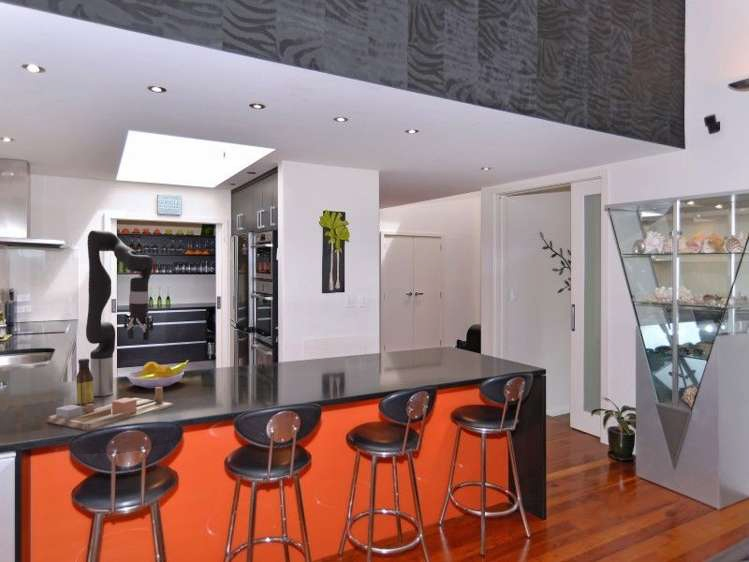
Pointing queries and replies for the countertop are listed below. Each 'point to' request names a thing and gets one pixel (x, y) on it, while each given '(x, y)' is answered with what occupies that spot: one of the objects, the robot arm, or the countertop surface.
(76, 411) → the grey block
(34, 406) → the countertop surface
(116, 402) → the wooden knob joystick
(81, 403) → the sauce bottle
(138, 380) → the fruit bowl
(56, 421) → the wooden backboard
